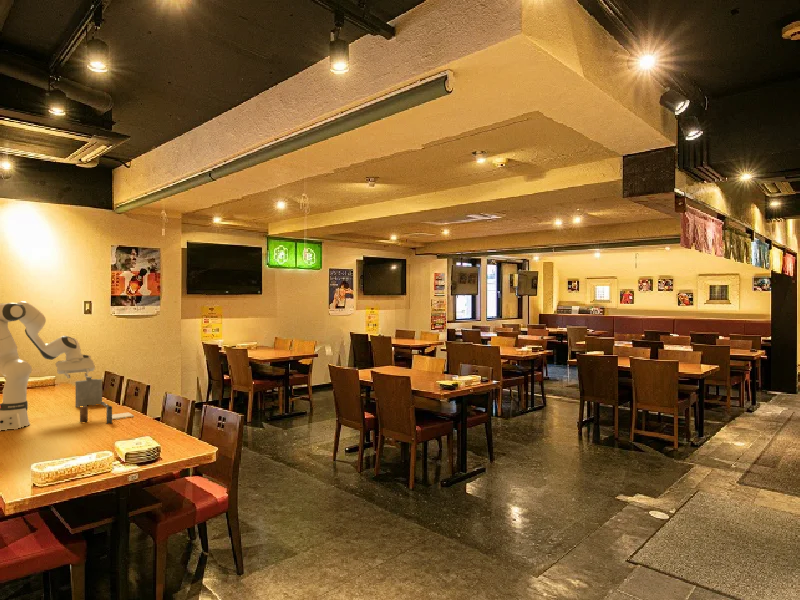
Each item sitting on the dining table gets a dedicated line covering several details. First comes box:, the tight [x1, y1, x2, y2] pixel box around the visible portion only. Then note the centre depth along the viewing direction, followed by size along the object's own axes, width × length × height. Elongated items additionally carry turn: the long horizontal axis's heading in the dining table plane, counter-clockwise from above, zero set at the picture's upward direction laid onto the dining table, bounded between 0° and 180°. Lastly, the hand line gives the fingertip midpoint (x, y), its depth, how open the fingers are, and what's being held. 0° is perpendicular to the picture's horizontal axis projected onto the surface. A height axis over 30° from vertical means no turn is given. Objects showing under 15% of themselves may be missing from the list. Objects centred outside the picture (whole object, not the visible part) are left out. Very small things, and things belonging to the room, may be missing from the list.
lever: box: [100, 401, 113, 425], centre depth 310 cm, size 2×18×10 cm, turn 42°
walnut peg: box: [79, 406, 89, 423], centre depth 307 cm, size 4×4×9 cm
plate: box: [112, 411, 135, 421], centre depth 321 cm, size 12×12×1 cm
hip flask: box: [75, 376, 103, 408], centre depth 356 cm, size 16×4×20 cm, turn 130°
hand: (77, 376), depth 321 cm, fingers open, 8 cm apart
